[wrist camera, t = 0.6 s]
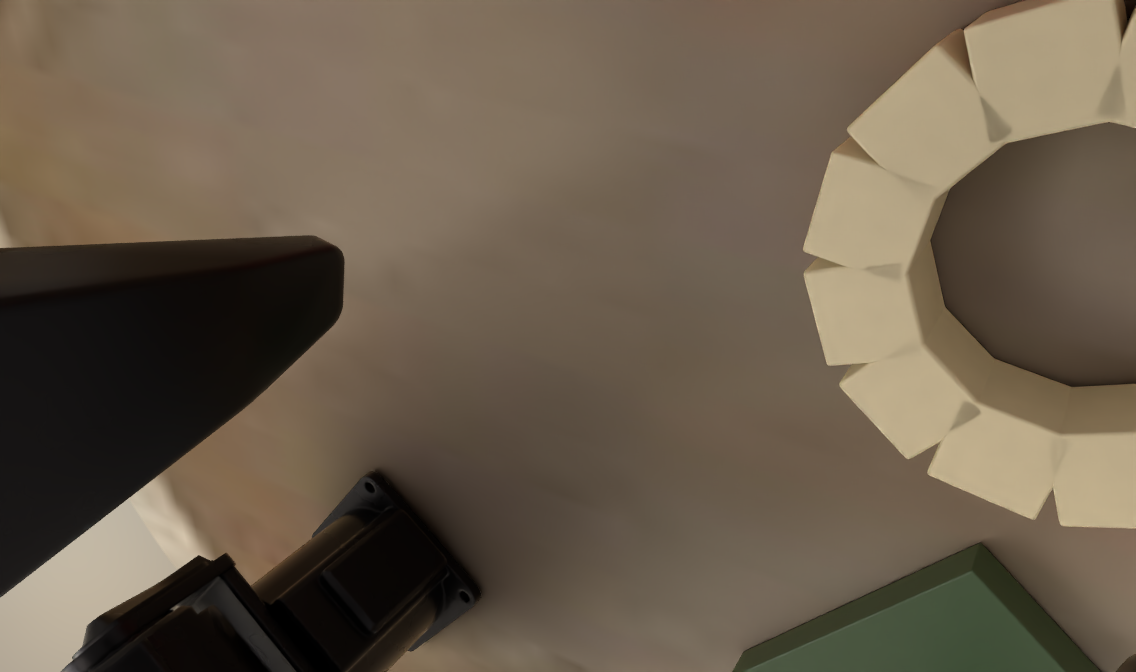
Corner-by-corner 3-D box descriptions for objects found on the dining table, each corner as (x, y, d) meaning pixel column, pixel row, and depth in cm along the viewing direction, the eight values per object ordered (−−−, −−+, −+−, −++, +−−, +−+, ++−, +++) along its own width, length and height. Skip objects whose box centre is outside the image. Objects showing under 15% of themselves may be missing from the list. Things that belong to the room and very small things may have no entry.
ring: (1046, 542, 21) (1035, 600, 19) (749, 223, 22) (713, 253, 20) (1616, 294, 14) (1672, 351, 13) (1154, -158, 15) (1152, -161, 13)
